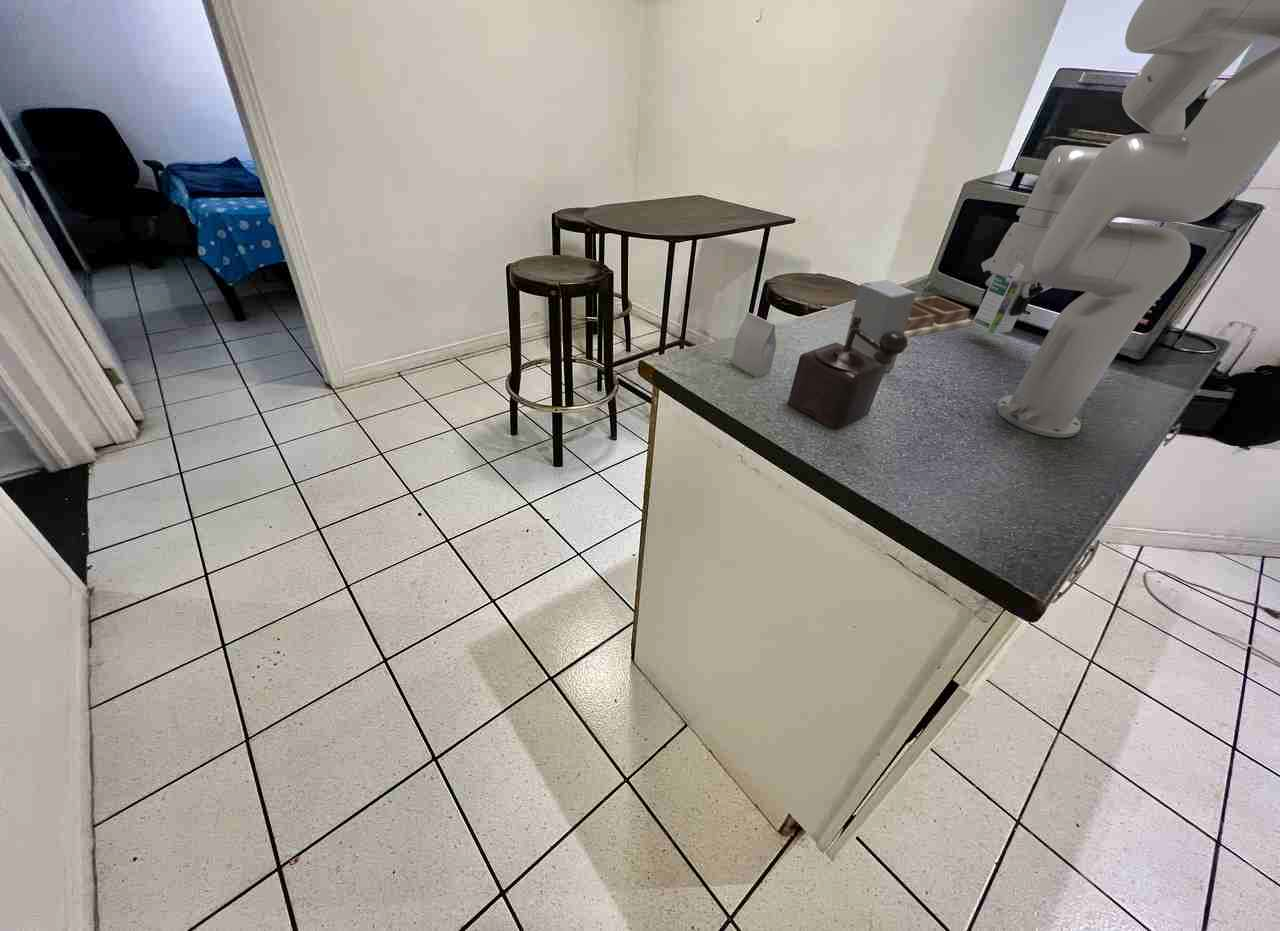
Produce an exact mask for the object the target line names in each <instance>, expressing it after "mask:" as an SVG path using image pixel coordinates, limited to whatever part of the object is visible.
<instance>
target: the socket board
mask: <svg viewBox="0 0 1280 931" xmlns="http://www.w3.org/2000/svg"><path fill="white" fill-rule="evenodd" d="M853 311H854V307H853V308H851V310H850V314H853ZM970 312H971V309H970V308H968V307H965V306H964V305H961V304H958V303H956V302H953V301H950V300H949V299H946V298H943V297H941V296H938V295H931V296H930V295H929V296H924V297H915V300H914V303H913V306H912V309H911V313H910V316H909V319H908V322H907V325H906V328H905V332H904V336H905V337H906V338H909V337H914V336H920V335H925V334H929V333H935V332H940V331H947V330H951V329H957V328H961V327H965V326H967V327H968V326H970V325H973V324H972V323H973V321H974V319H973V320H972V319H970V318H968V316H969V315H970Z"/></svg>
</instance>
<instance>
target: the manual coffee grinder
mask: <svg viewBox="0 0 1280 931" xmlns="http://www.w3.org/2000/svg"><path fill="white" fill-rule="evenodd" d="M861 321H862V320H861V317H860V316H856V317H854V318H853V324H851V325H850V324H849V326H850V327H849V326H848V329H849V328H850V330H851V331H850V334H849V337H848V340H847V343H846V344H845V343H844V344H841V343H839V342H833V343H831V344H830V343H829V344H827V345H824V346H821V347H818V348H815V349H813V350H809V351H806V352H805V353H802V354H800V356H799V358H798V363H797V367H796V370H795V375H794V378H793V382H792V385H791V389H790V393H789V397H788V401H787V403H786V404H787V405H788V406H790V407H791V408H793V409H794V410H797V411H798V412H799V413H801V414H802V415H805V416H806V417H808V418H809V419H811V420H814V421H816V422H819V423H821V424H823V425H824V426H826V427H830V428H832V429H834V430H839V429H841V428H845V427H847V426H849V425H851V424H853V423H856V422H857V421H860V420H862V419H863V418H864V417H866V416H867V415H868V414H869V412H870V411H871V408H872V405H873V402H874V400H875V396H876V394H877V393H878V389H879V387H880V384H881V382H882V380H883V377H884V375H885V373H886V372H885V370H886V367H887V365H889V364H891V363H892V358H893V356H895V355H897V356H898V355H899V354H902V353H903V352H904V351H905V350H906V348H907V347H908V341H909V340H908V337H905V336H904V334H903V333H901V332H900V331H896V330H890V331H887V332H884V333H883V334H882V335H881V337H880V341H879V343H878V342H876V341H875V340H874V339H872V338H871V337H869V336H868V335H866V334H865V333H864V332H862V331H861V330H860V329H859V327H860V326H859V324H860V323H861ZM855 334H857V335H858V336H859V337H860V338H861V339H863V340H864V341H865V342H867V343H868V344H870V345H871V346H873V347H874V348H875V349H877V350H878V351H877V352H875V353H874V356H873V357H874V358H875V359H873V358H871V357H868V356H866V355H864V354H862V353H861V352H859V351H858V350H856V349H854V348H852V343H853V340H854V337H855ZM862 417H863V418H862Z"/></svg>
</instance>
